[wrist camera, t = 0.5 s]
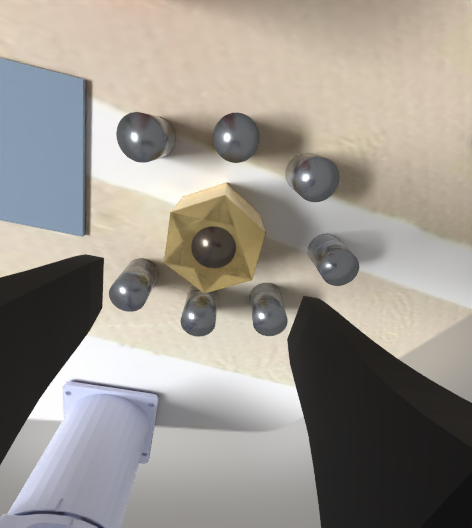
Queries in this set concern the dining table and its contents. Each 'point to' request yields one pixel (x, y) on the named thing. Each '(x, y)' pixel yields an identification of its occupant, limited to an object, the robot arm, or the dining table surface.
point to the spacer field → (233, 150)
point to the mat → (42, 148)
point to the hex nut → (214, 238)
